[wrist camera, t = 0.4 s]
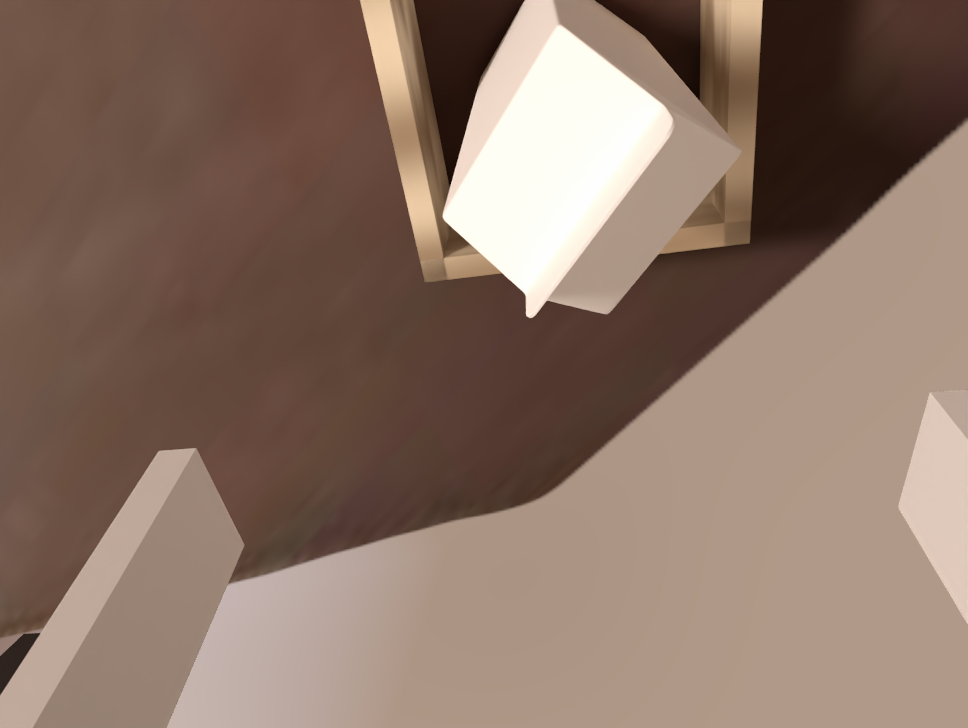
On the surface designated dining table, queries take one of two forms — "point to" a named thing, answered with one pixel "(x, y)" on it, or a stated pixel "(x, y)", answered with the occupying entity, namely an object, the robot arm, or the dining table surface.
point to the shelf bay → (419, 154)
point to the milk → (580, 156)
